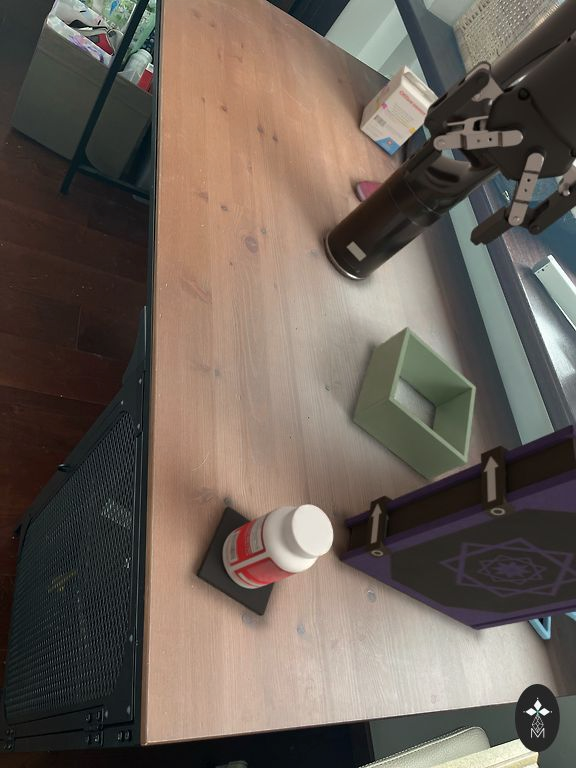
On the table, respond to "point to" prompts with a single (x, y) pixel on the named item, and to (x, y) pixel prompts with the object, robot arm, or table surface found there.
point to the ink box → (397, 110)
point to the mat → (216, 570)
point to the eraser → (366, 189)
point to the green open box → (403, 428)
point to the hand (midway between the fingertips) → (441, 207)
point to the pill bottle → (277, 545)
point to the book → (482, 536)
